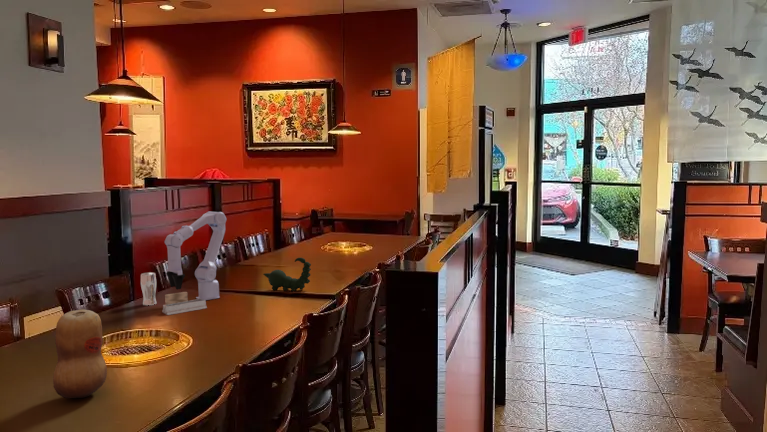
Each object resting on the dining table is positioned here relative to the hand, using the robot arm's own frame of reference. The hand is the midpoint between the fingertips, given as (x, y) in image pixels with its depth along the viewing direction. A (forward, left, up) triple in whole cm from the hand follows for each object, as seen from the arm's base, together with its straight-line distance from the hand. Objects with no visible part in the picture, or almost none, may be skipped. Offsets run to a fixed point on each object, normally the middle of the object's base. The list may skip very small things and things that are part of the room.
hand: (175, 287), depth 260 cm
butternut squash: (+56, +87, -9) cm, 104 cm away
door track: (0, +11, -9) cm, 14 cm away
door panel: (0, 0, -9) cm, 9 cm away
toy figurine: (-55, +8, -9) cm, 56 cm away
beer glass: (+9, -12, -9) cm, 17 cm away
